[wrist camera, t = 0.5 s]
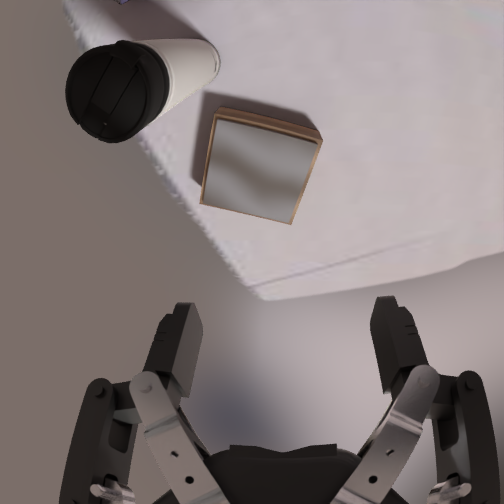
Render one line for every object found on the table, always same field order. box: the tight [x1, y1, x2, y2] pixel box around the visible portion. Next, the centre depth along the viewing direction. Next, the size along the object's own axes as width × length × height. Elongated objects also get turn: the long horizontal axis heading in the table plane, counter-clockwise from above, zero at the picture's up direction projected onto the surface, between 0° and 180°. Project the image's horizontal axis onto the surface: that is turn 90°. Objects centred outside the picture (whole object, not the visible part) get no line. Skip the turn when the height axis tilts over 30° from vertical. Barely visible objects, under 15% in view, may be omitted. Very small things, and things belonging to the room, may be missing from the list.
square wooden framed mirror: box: [199, 107, 323, 225], centre depth 33 cm, size 12×12×4 cm
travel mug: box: [65, 39, 220, 143], centre depth 19 cm, size 6×7×20 cm
